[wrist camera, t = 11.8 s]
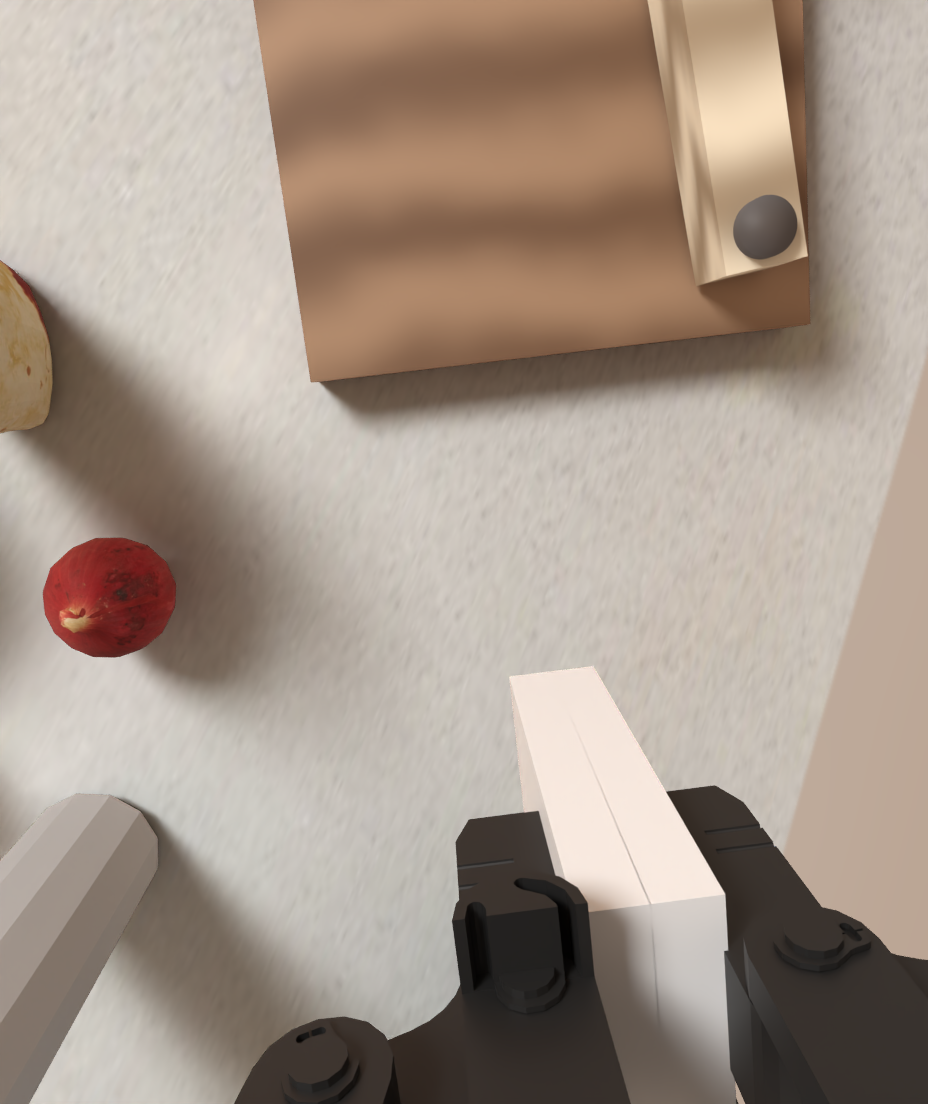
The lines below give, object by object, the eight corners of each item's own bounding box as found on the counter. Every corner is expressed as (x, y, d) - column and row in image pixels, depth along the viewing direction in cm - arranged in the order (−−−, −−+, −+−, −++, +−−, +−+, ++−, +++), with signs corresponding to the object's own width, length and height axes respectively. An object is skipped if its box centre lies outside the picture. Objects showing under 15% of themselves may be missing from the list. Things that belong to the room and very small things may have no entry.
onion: (165, 508, 43) (106, 538, 35) (211, 608, 44) (164, 657, 36) (62, 548, 43) (-19, 586, 35) (111, 646, 44) (43, 704, 36)
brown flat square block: (783, 327, 42) (846, 318, 36) (318, 382, 42) (299, 382, 35) (767, -218, 37) (837, -341, 31) (238, -163, 37) (198, -277, 30)
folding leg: (768, 268, 38) (815, 253, 34) (696, 286, 38) (732, 273, 34) (699, -197, 34) (741, -286, 30) (617, -177, 34) (647, -263, 30)
